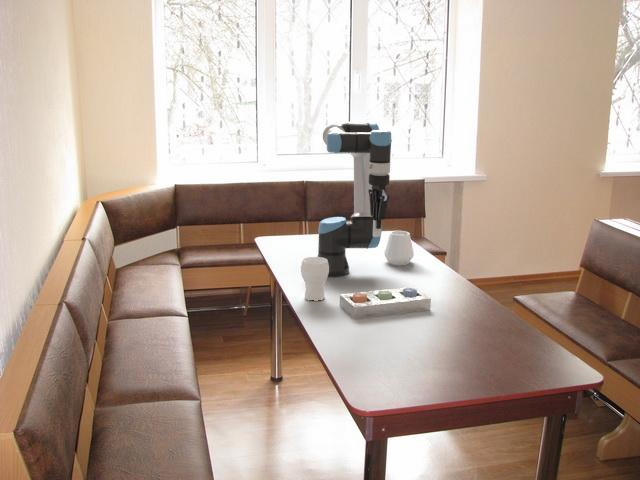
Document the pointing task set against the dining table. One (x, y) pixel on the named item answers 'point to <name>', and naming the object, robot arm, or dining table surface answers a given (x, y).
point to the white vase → (399, 248)
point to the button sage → (384, 295)
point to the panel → (384, 304)
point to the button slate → (409, 292)
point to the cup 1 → (314, 277)
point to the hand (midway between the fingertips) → (376, 236)
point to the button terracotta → (359, 298)
